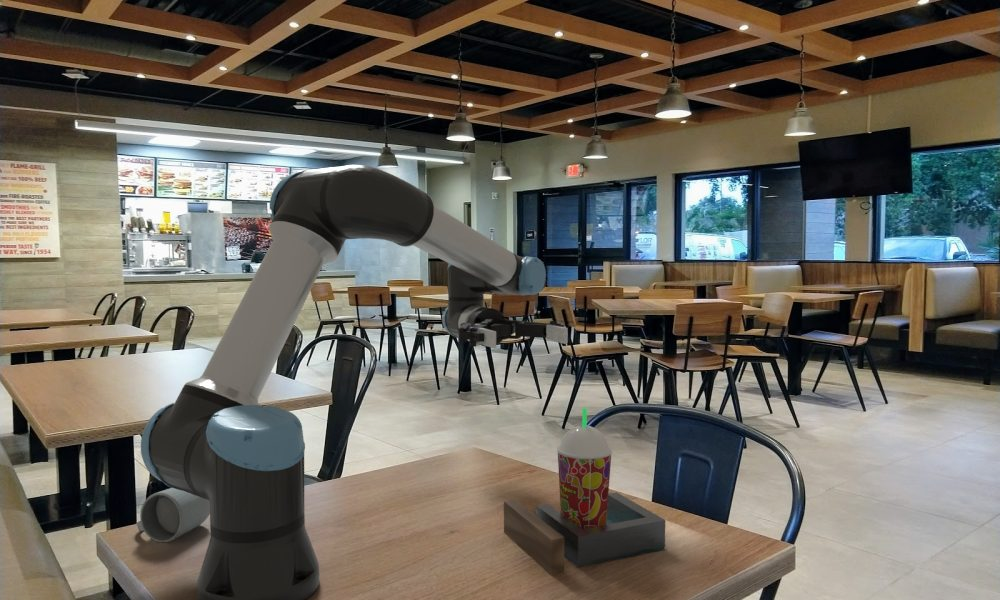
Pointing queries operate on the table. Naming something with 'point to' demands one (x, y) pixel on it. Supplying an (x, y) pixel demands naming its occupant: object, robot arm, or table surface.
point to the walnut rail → (534, 536)
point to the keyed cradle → (608, 532)
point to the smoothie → (584, 475)
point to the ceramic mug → (172, 514)
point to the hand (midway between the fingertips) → (530, 337)
